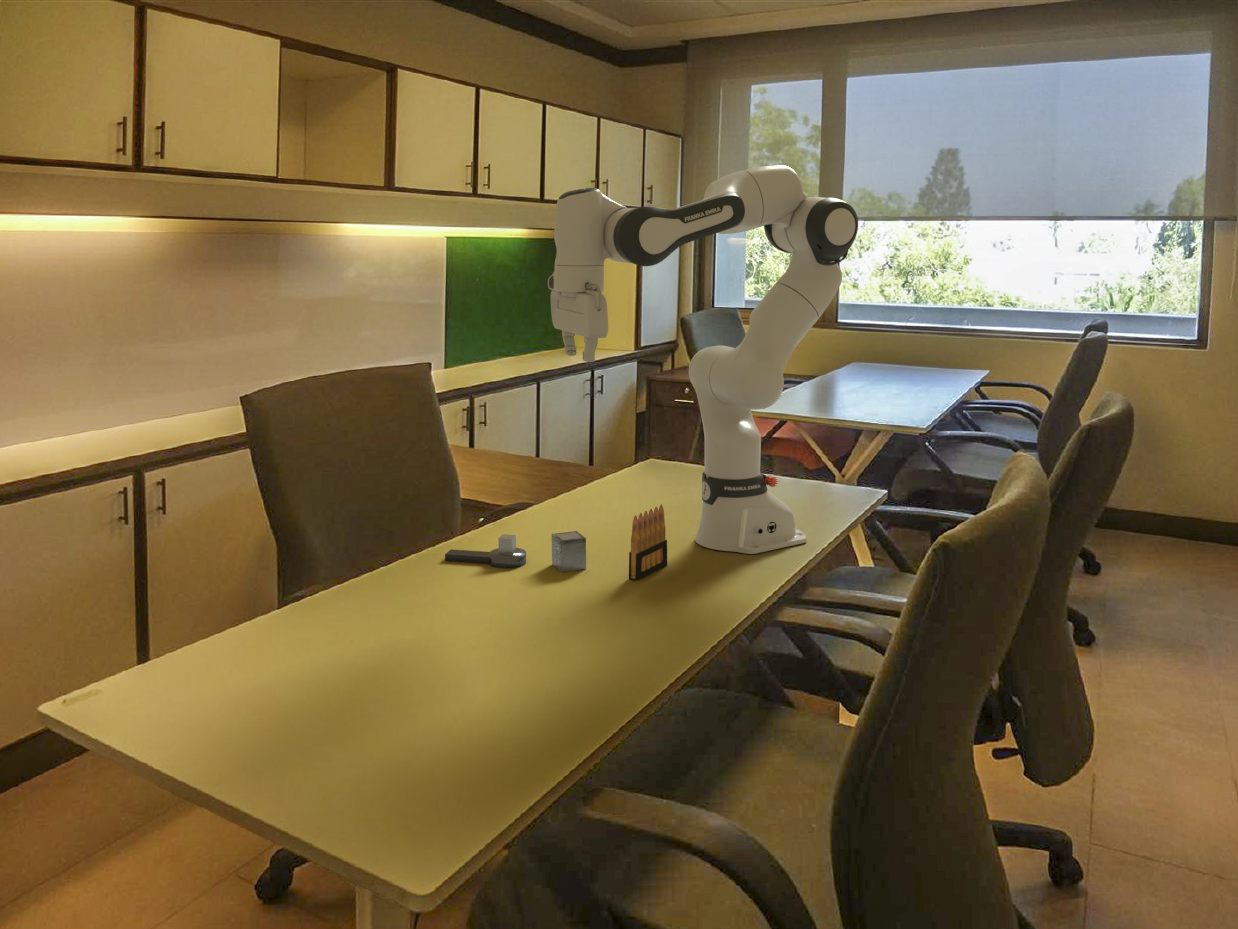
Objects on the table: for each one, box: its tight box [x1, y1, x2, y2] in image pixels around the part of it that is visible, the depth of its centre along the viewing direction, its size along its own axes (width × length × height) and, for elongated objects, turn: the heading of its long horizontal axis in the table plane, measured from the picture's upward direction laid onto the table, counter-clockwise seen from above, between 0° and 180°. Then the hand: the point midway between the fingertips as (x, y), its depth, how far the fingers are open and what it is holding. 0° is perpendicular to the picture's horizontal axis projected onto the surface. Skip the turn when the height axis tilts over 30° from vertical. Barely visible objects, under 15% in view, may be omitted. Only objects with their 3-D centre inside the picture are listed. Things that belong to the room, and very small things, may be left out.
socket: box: [551, 530, 587, 573], centre depth 201 cm, size 5×5×6 cm
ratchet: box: [444, 534, 527, 570], centre depth 204 cm, size 16×7×5 cm, turn 78°
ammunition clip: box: [628, 504, 668, 582], centre depth 197 cm, size 11×2×12 cm, turn 146°
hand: (579, 358), depth 195 cm, fingers open, 8 cm apart
